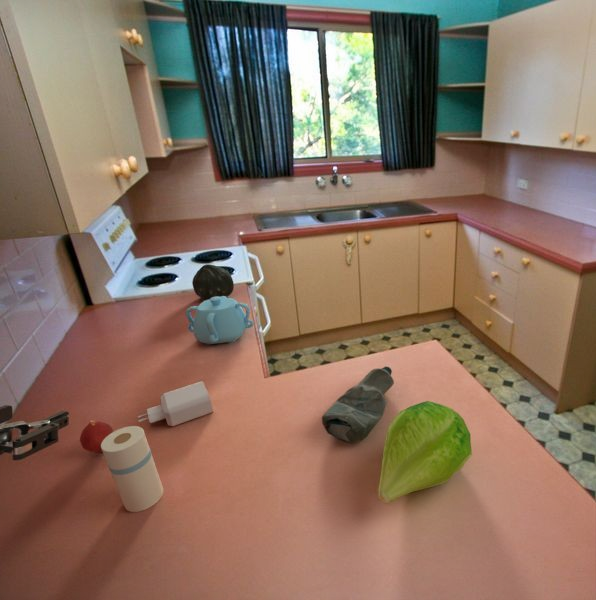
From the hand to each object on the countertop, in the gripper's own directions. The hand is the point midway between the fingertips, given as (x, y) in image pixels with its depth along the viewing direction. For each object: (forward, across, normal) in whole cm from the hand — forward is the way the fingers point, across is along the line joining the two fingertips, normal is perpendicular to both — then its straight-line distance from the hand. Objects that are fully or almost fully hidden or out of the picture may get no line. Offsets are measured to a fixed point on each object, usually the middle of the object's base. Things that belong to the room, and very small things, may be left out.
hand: (38, 414), depth 63 cm
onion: (+25, -8, -19) cm, 33 cm away
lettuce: (+18, +59, -14) cm, 63 cm away
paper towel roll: (+14, +8, -21) cm, 26 cm away
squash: (+105, -22, +4) cm, 107 cm away
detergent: (+37, +46, -9) cm, 60 cm away
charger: (+36, +1, -14) cm, 39 cm away
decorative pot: (+73, -5, -4) cm, 74 cm away
